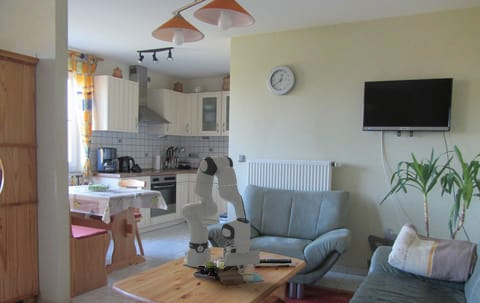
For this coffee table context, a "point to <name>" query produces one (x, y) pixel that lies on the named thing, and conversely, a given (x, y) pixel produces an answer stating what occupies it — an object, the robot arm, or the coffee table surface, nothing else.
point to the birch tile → (247, 276)
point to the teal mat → (255, 278)
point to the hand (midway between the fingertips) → (241, 272)
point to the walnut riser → (230, 278)
